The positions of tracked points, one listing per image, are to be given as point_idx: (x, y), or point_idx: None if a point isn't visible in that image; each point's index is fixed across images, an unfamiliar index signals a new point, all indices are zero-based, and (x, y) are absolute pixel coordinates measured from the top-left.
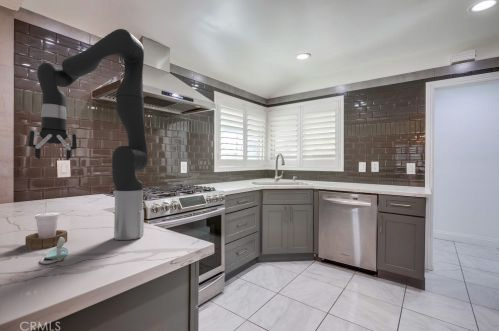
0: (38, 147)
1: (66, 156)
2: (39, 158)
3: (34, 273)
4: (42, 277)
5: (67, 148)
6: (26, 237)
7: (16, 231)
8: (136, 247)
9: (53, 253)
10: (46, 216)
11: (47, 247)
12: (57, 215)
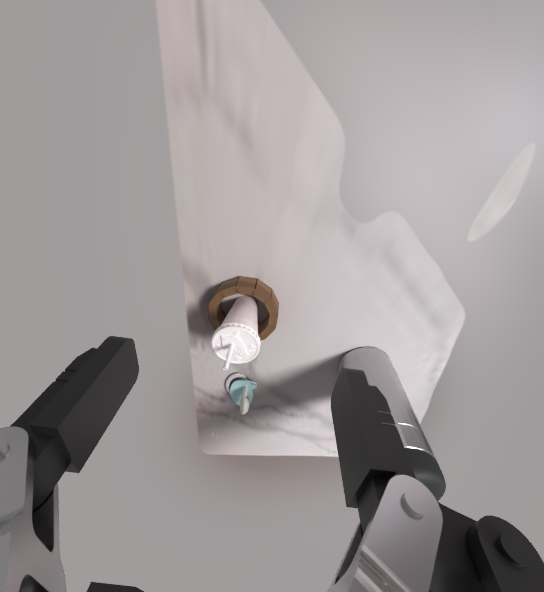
0: (44, 498)
1: (338, 420)
2: (132, 377)
3: (218, 405)
4: (224, 417)
5: (357, 544)
6: (209, 312)
7: (194, 100)
8: None
9: (240, 382)
10: (231, 362)
11: None
12: (252, 357)
